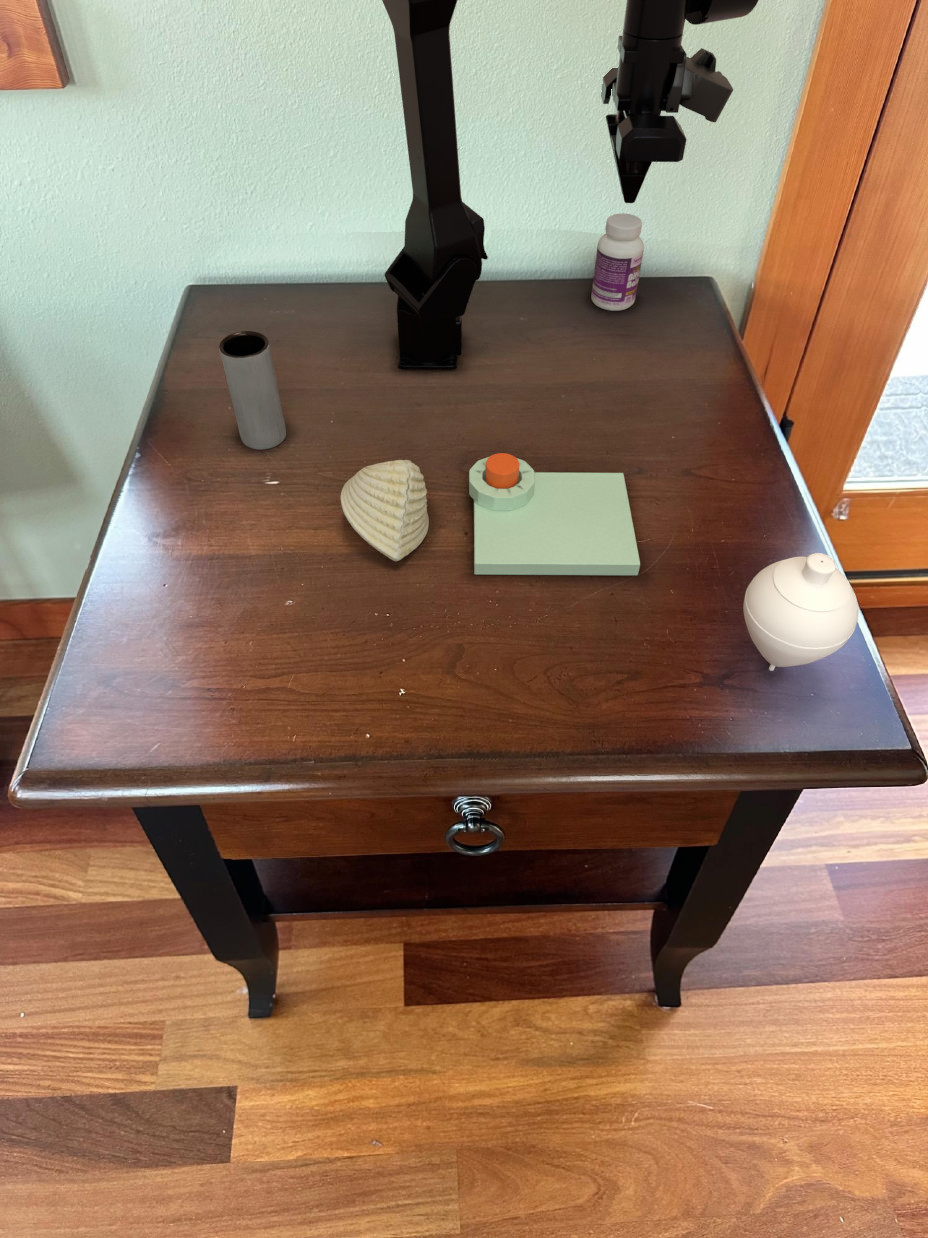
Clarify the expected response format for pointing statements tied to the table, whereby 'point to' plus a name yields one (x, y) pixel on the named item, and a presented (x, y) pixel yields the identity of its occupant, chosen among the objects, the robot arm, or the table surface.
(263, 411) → the grey cylindrical tube
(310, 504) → the table surface
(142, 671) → the table surface
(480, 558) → the pale green base plate
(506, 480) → the button
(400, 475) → the seashell
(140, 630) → the table surface
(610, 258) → the pill bottle
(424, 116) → the robot arm
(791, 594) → the spinning top
